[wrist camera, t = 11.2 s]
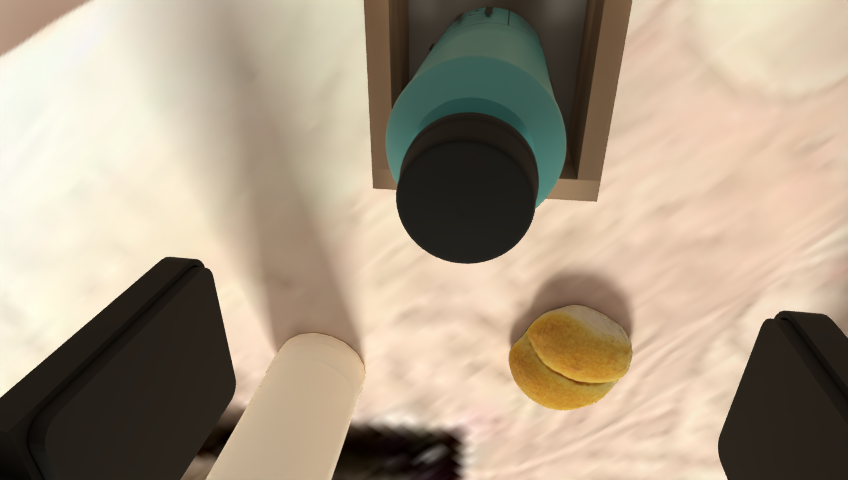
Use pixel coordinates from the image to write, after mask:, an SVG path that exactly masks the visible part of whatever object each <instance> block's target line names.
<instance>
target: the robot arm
mask: <svg viewBox="0 0 848 480" xmlns="http://www.w3.org/2000/svg"><path fill="white" fill-rule="evenodd" d="M235 388H236V379H235V374H234V370H233V365H232V360H231V356H230V351H229V347H228V342H227V338H226V333H225V328H224V324H223V319H222V315H221V310H220V306H219V301H218V296H217V292H216V287H215V283H214V278H213V275H212V272H211V271H210V269H208V268H205V267H204V264H203V263H202V262H201V261H200V260H198V259H188V258H177V257H165V258H164V259H162V260H161V261H159V262H158V263H157V264H156V265H155V266H154V267H152V268H151V269H150V270H149V271H148V272H147V273H145V274H144V275H143V276H142V277H141V278H140V279H138V280H137V281H136V282H135V283H134V284H133V285H131V286H130V287H129V288H128V289H127V290H126V291H124V292H123V293H122V294H121V295H120V296H119V297H117V298H116V299H115V300H114V301H113V302H112V303H110V304H109V305H108V306H107V307H106V308H105V309H103V310H102V311H101V312H100V313H99V314H98V315H96V316H95V317H94V318H93V319H92V320H91V321H89V322H88V323H87V324H86V325H85V326H84V327H82V328H81V329H80V330H79V331H78V332H77V333H75V334H74V335H73V336H72V337H71V338H69V339H68V340H67V341H66V342H65V343H64V344H62V345H61V346H60V347H59V348H58V349H57V350H55V351H54V352H53V353H52V354H51V355H50V356H48V357H47V358H46V359H45V360H44V361H43V362H41V363H40V364H39V365H38V366H37V367H36V368H34V369H33V370H32V371H31V372H30V373H29V374H27V375H26V376H25V377H24V378H23V379H22V380H20V381H19V382H18V383H17V384H16V385H15V386H13V387H12V388H11V389H10V390H9V391H8V392H6V393H5V394H4V395H3V396H2V397H1V398H0V480H180V479H181V478H182V476H183V475H184V473H185V471H186V470H187V468H188V467H189V465H190V464H191V462H192V461H193V459H194V457H195V456H196V454H197V453H198V451H199V450H200V448H201V447H202V445H203V443H204V442H205V440H206V439H207V437H208V436H209V434H210V433H211V431H212V429H213V428H214V426H215V425H216V423H217V422H218V420H219V419H220V417H221V415H222V414H223V412H224V411H225V409H226V408H227V406H228V405H229V403H230V401H231V400H232V398H233V395H234V392H235ZM718 453H719V458H720V461H721V464H722V466H723V469H724V471H725V474H726V476H727V479H728V480H848V338H847V337H846V336H845V335H844V333H843V332H842V331H841V330H840V329H839V328H838V326H837V325H836V324H835V323H834V322H833V321H832V319H830V318H829V317H828V316H827V315H824V314H818V313H806V312H795V311H781V312H779V313H778V314H777V315H776V316H775V318H774V319H766V320H765V321H764V322H763V324H762V326H761V329H760V331H759V334H758V337H757V339H756V342H755V344H754V347H753V350H752V352H751V355H750V358H749V360H748V363H747V365H746V368H745V371H744V373H743V376H742V379H741V381H740V384H739V386H738V389H737V392H736V394H735V397H734V400H733V402H732V405H731V407H730V410H729V413H728V415H727V418H726V421H725V423H724V426H723V428H722V431H721V434H720V437H719V441H718Z"/></svg>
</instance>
